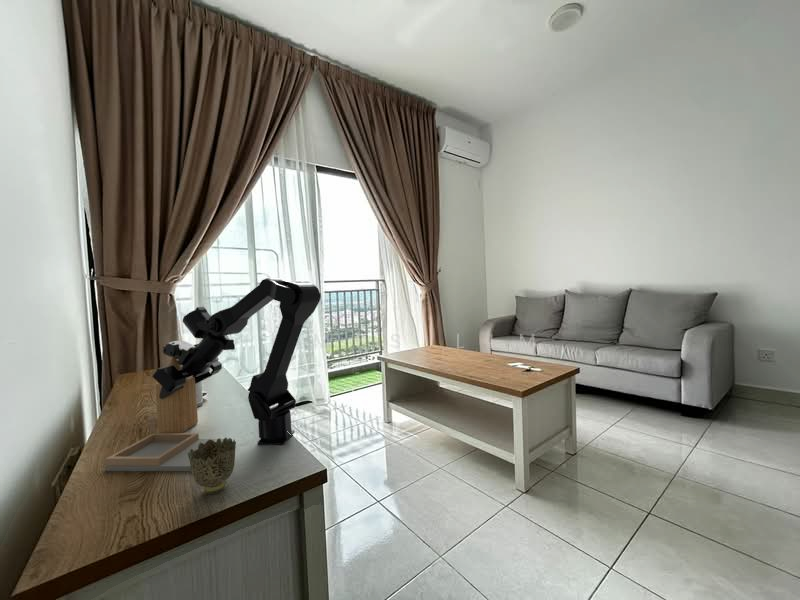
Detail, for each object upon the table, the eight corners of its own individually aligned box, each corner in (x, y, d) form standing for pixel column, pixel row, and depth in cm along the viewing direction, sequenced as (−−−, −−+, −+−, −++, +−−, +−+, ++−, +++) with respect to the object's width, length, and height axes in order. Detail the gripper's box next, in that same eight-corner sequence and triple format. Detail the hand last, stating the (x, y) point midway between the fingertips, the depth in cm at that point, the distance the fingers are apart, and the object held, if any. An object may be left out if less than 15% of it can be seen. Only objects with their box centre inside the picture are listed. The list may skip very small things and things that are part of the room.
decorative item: (157, 434, 84) (151, 357, 83) (176, 423, 90) (171, 352, 90) (181, 434, 83) (176, 356, 83) (199, 423, 90) (194, 351, 89)
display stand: (232, 442, 77) (231, 432, 77) (196, 471, 65) (196, 458, 65) (153, 443, 79) (152, 433, 79) (105, 471, 67) (104, 459, 67)
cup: (217, 505, 54) (214, 458, 54) (180, 501, 56) (177, 455, 55) (247, 479, 62) (244, 437, 61) (213, 476, 63) (210, 436, 63)
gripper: (209, 326, 95) (176, 364, 96) (156, 335, 76) (116, 383, 78) (236, 351, 94) (203, 390, 96) (190, 367, 76) (150, 414, 77)
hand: (171, 393), depth 87 cm, fingers closed on decorative item, 7 cm apart
